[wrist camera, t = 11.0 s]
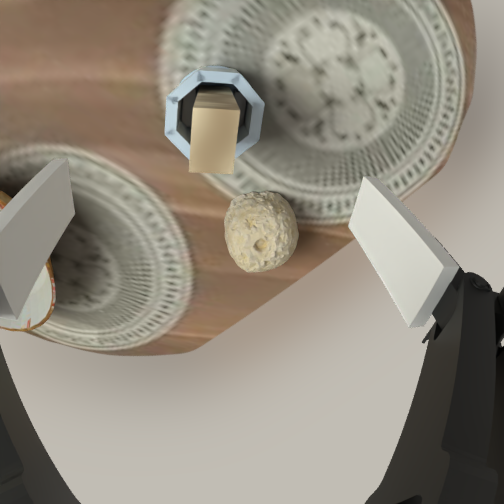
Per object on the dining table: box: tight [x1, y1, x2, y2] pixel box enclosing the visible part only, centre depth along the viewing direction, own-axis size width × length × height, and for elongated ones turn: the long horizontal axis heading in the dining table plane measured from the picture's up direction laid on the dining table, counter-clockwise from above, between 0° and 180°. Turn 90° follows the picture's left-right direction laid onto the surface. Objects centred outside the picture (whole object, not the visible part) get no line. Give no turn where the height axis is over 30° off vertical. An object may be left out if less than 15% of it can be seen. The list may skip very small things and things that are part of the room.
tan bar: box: [189, 85, 240, 174], centre depth 26 cm, size 3×4×14 cm, turn 173°
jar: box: [165, 65, 265, 160], centre depth 29 cm, size 9×9×8 cm
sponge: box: [224, 191, 299, 273], centre depth 39 cm, size 9×10×10 cm
